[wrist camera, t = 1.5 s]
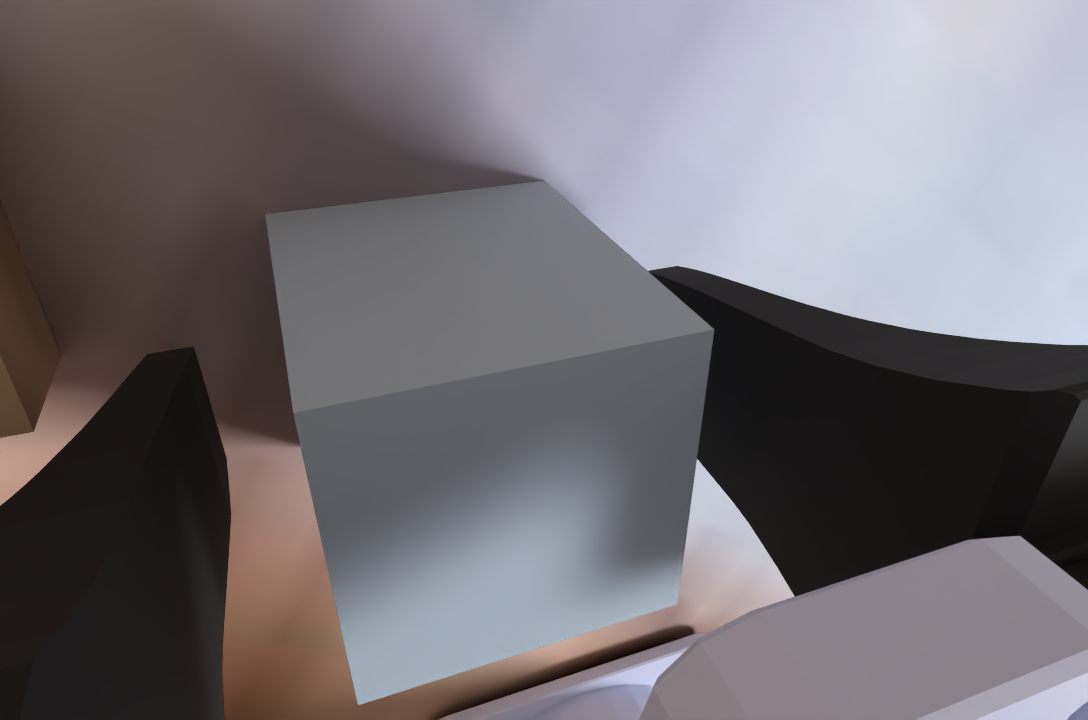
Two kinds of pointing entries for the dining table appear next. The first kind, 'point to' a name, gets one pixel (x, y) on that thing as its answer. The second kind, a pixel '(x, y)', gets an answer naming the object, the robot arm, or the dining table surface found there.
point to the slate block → (485, 424)
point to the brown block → (21, 341)
